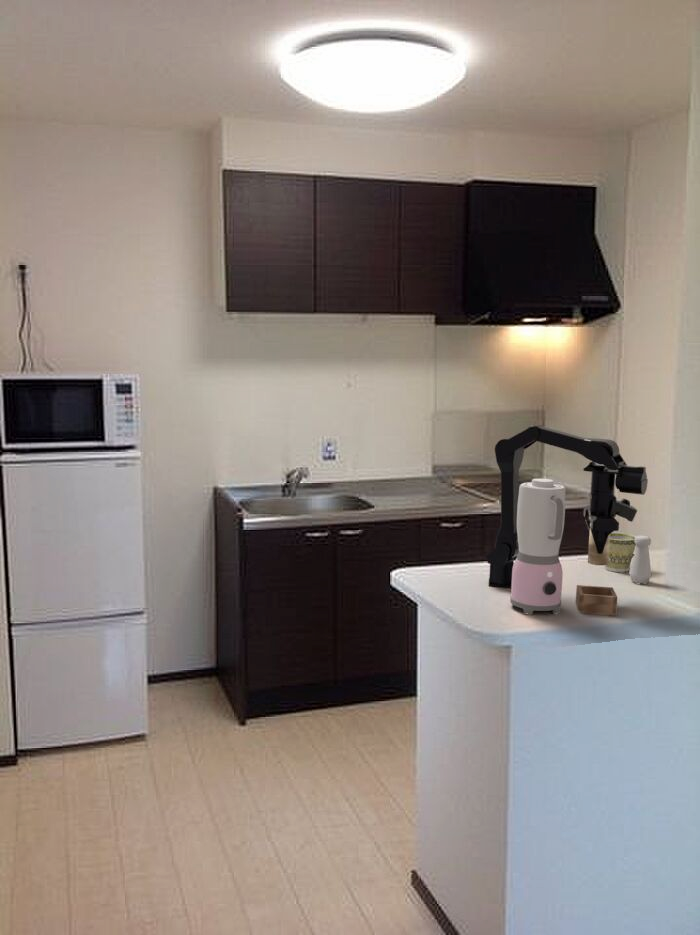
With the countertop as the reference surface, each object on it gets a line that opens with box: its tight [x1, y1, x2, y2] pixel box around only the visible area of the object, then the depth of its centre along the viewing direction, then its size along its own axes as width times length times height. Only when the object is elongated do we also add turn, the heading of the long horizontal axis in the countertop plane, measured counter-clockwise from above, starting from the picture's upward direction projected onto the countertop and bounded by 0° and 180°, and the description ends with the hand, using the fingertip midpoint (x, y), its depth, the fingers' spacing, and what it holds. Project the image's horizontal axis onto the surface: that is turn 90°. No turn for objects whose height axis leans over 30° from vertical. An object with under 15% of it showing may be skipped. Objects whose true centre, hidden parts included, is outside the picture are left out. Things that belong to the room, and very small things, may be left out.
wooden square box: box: [575, 584, 618, 617], centre depth 218 cm, size 9×9×5 cm
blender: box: [510, 478, 566, 615], centre depth 214 cm, size 16×12×32 cm
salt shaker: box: [628, 534, 652, 585], centre depth 244 cm, size 6×6×13 cm
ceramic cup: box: [603, 531, 637, 573], centre depth 257 cm, size 13×10×10 cm
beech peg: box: [587, 523, 610, 566], centre depth 223 cm, size 5×5×10 cm
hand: (598, 551), depth 223 cm, fingers closed on beech peg, 5 cm apart
